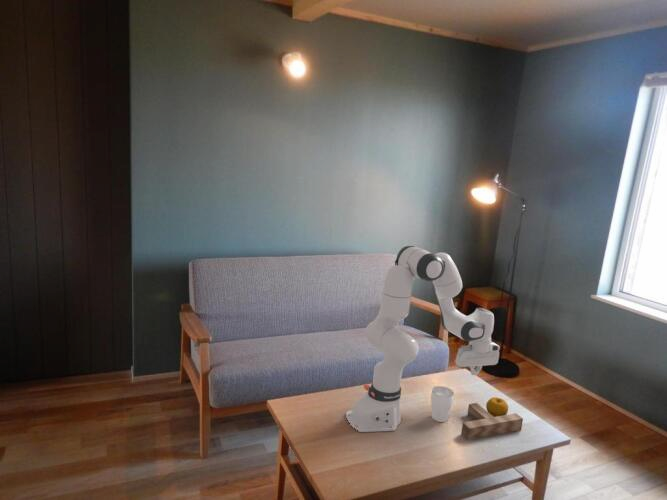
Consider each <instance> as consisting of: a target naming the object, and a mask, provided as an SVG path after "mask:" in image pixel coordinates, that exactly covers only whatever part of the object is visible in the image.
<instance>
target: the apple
mask: <svg viewBox="0 0 667 500" xmlns="http://www.w3.org/2000/svg"><path fill="white" fill-rule="evenodd" d="M485 406H486V407H485V408H486V411H487V412H489V413H490V414H491V415H492V416H493V417H497V416H503V415H508V412H509V405H508V403H507V401H506V400H504V399H503V398H500V397H495V396H494V397H491V398H490V399H488V401H486V404H485Z"/></svg>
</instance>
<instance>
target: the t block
mask: <svg viewBox="0 0 667 500" xmlns="http://www.w3.org/2000/svg"><path fill="white" fill-rule="evenodd" d="M467 416H468V417H469V418H470V419H472V420H469V421H468V420H467V421H464V422H462V424H461V425H462V426H461V433H460V435H461V436H463V438H465V439H466V440H467V441H471V440H474V439H475V440H476V439H480V438H484V437H485V438H486V437H491V436H496V435H501V434H502V435H503V434H507V433H511V432H516V431H521V430H522V427H523V421H524V418H523V417H522V416H520V415H519V414H518V413H516V412H515V413H510V414H506V415H503V416H497V417H493V416H492V415H491V414H490V413H489V412H488V411H487V409H485V408H484V407H483V406H481V405H480V404H479V403H477V402H473V403H469V404H468V408H467Z"/></svg>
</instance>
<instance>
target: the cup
mask: <svg viewBox="0 0 667 500" xmlns="http://www.w3.org/2000/svg"><path fill="white" fill-rule="evenodd" d="M454 395H455V392H454V390H452V389H451V388H449V387H446V386H444V385H443V386H442V385H441V386H440V385H436V386H433V388H432V390H431V395H430V403H431V405H430V407H431V409H430V410H431V418H432V420H434V421H435V422H439V423H446V422H447V421H448V420H449V418H450V414H451V411H452V406H453V404H454Z"/></svg>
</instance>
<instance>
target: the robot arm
mask: <svg viewBox="0 0 667 500" xmlns="http://www.w3.org/2000/svg"><path fill="white" fill-rule="evenodd" d="M416 279H419V280H422V281H425V282H432V284H433V287H434V293H435V297H436V298H435V299H436V301H437V305H438V308H439V311H440V318H441V319H440V323H441V326H442V328H443V330H445V331H446V332H449V333H451V334H453V335H455V336H456V337H458V338H459V339H461V340H463V341H466V342H468V345H461V346H460V347H459V348H458V351H457V353H456V358H455V361H454V363H455V365H456V366H458V367H459V368H469V369H470V375H471V376H478V375H479V374H480V372H481V370H482V369H483V366H495V365H497V364H498V363H499V359H500V348H501V347H500V345H499V344H497V343H495V342H493V341H492V334H493V332H494V328H495V327H494V325H495V316H494V313H493V312H492V311H490V310H489V309H487V308H483V307H476V309H475V310H474V311H473V312H472V313H470V314H469V315H465V314H464V313H462V312H461V311H460V310H458V309H457V308H456V307H455V304H454V301H453V298H455V297H456V296H458V295H459V294H460V293H461V291H462V289H463V281H462V277H461V275H460V272H459V269H458V267H457V265H456V263H455V262H454V260H453V259H452V257H451V255H449V254H448V253H447V252H436V253H433V252H430V251H428V250H427V249H425V248H420V247H417V246H414V245H406V246H403V247H402V248H401V249H400V250H399V252H397V256H396V258H395V261H394V265H393V266H390V267H389V268H388V270H387V273H386V275H385V278H384V282H383V288H382V295H381V300H380V301H381V302H380V307H379V311H378V313H377V316H376V318H375V319H374V320H373V321H371V322H369V323H368V324H367V326H366V327H365V331H364V337H365V340H366V341H367V342H368V343H369V344H370V346H371V347H373V348H375V349H376V350H377V351H379V352H380V353H382V354H383V360H380V361H379V362H377V363H376V364H375V366H374V369H373V378H372V383H371V385H369V384H368V383H365V384H364V385H363V389H365V390H366V391H368V392H367V393H365V394H364V395H362V396H361V397H360V398H358V399H357V400H355V401H354V403H353V404H352V409H350V410H348V411H346V414H345V418H347V419H346V421H347V420H348V421H347V423H348V422H349V423H350V424H349V423H348V424H349V425H350V426H352V427H353V428H352V427H351V428H352V429H354V428H355V429H356V430H355V429H354V430H355V431H357V430H358V431H357V432H360V433H369V432H370V433H371V432H372V433H373V432H375V433H376V432H395V431H397V428H398V426H399V425H400V423H401V422H402V418H401V417H402V416H401V410H400V399H401V394H402V386H401V385H402V384H401V383H402V377H403V371H404V368H405V366H406V365H407V364H409V363H411V362H413V361H414V360H416V358H417V356H418V353H419V343H418V342H417V341H416V340H415V339H414V338H413V337H412V336H411V335H410V334H408V333H406V332H404V331H402V330H400V329H399V328H398V325H399V322H400V321H402V320H404V319H406V318H407V317H408V315H409V314H410V308H411V307H410V306H411V301H412V300H411V299H412V292H413V291H412V290H413V284H414V282H415V281H416Z"/></svg>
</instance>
